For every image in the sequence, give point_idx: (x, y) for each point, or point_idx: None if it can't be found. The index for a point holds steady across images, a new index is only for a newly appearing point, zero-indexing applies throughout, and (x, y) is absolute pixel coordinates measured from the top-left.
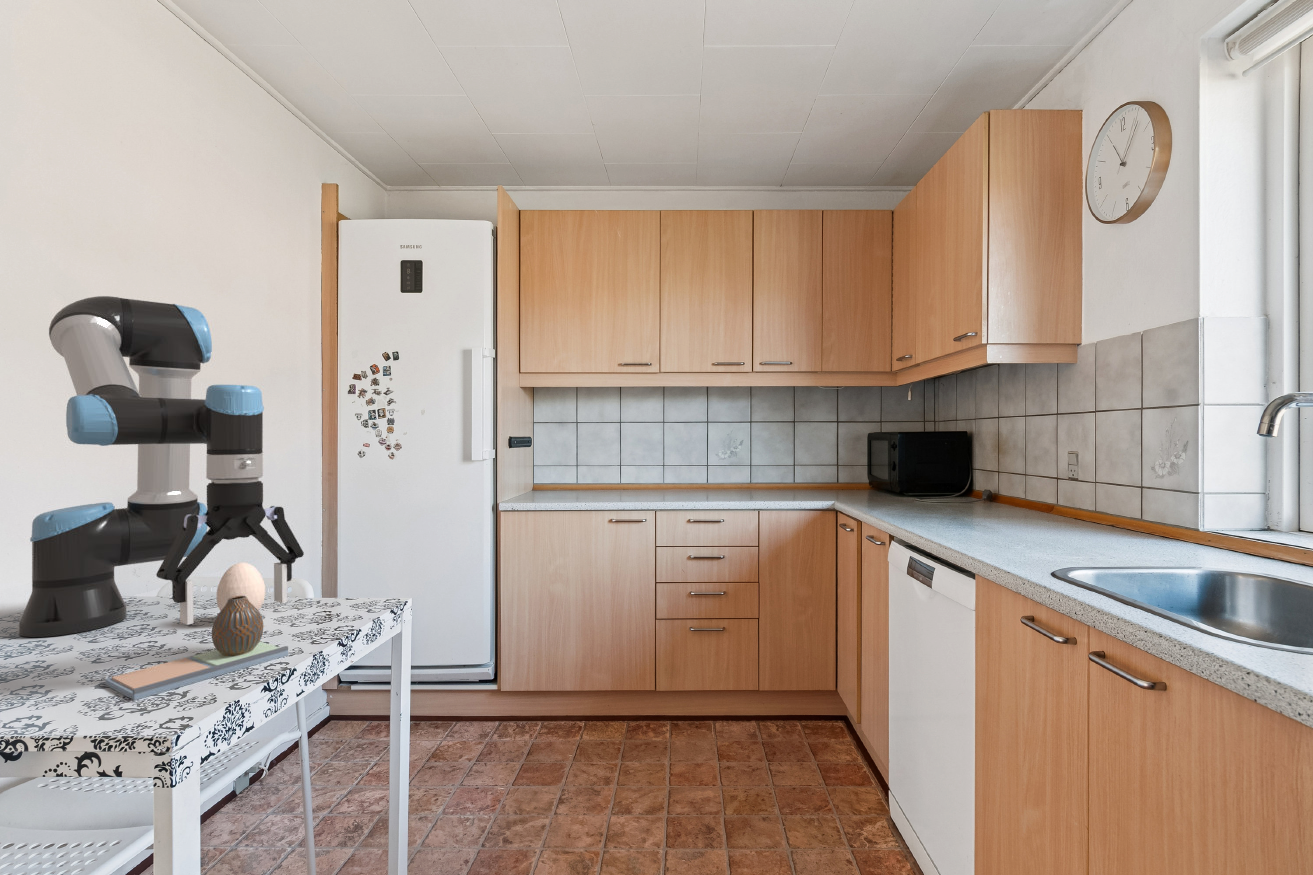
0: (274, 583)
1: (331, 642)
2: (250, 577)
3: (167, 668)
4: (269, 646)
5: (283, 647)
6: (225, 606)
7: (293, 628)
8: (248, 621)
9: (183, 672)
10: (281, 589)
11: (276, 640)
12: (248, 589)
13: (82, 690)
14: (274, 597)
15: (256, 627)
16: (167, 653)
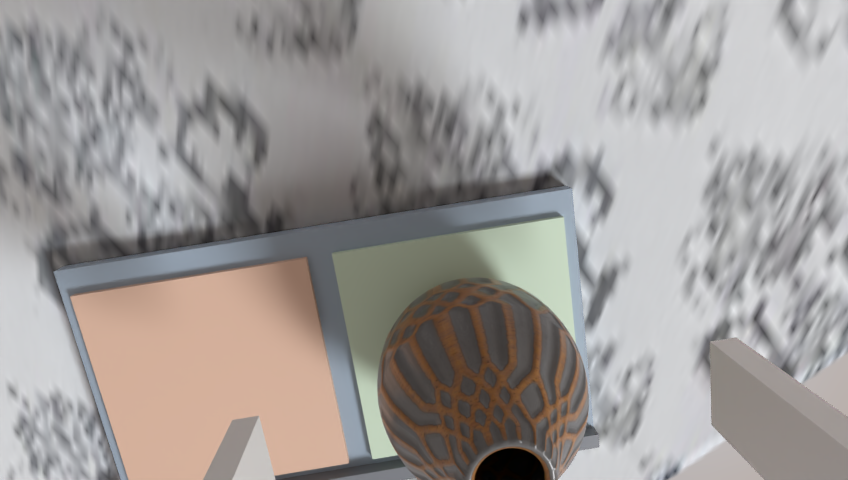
0: (780, 404)
1: None
2: None
3: (235, 347)
4: None
5: (584, 445)
6: (440, 461)
7: (767, 59)
8: None
9: (271, 439)
10: (760, 467)
11: (640, 199)
12: None
13: (3, 271)
14: (722, 352)
15: (530, 466)
16: (282, 4)
